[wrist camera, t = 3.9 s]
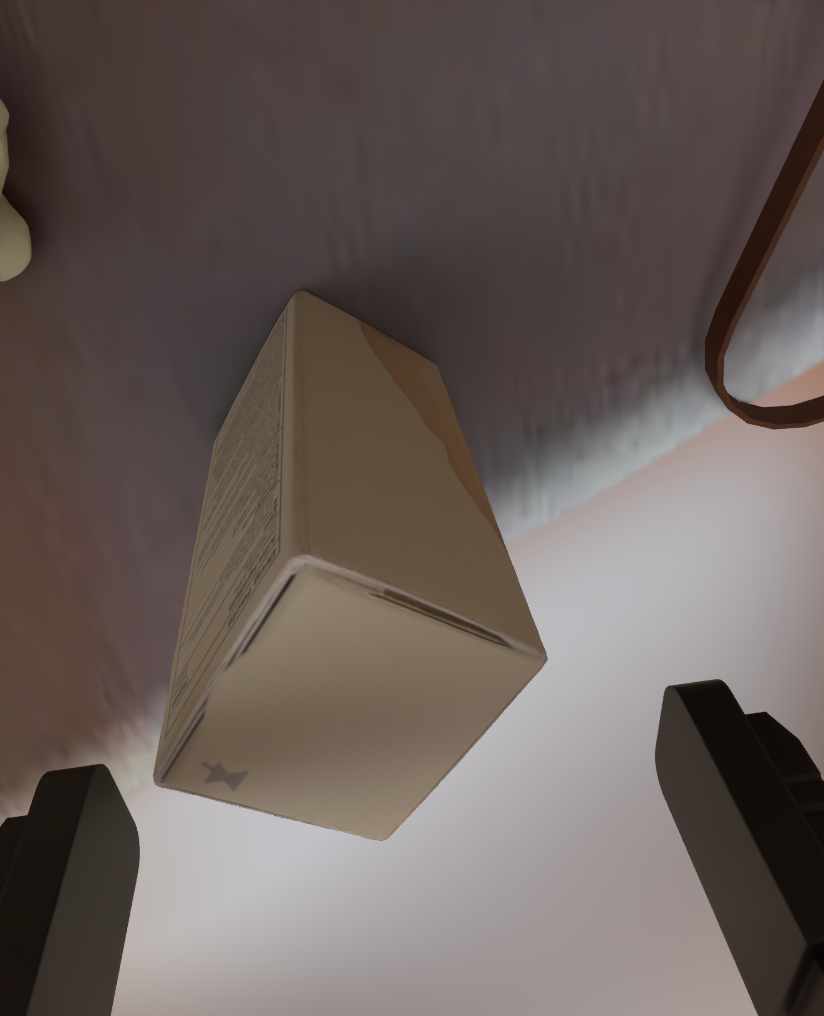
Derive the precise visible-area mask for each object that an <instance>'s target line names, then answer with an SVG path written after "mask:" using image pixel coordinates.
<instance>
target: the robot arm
mask: <svg viewBox="0 0 824 1016" xmlns="http://www.w3.org/2000/svg"><path fill="white" fill-rule="evenodd" d="M655 763H656V770H657V776H658V780H659V784H660V786H661V790H662V793H663V795H664V798H665V800H666V802H667V805H668V807H669V809H670V812H671V814H672V816H673V819H674V821H675V823H676V826H677V828H678V830H679V833H680V835H681V837H682V840H683V842H684V844H685V847H686V849H687V851H688V854H689V856H690V858H691V860H692V863H693V865H694V868H695V870H696V872H697V875H698V877H699V879H700V881H701V884H702V886H703V888H704V890H705V893H706V895H707V898H708V900H709V902H710V904H711V907H712V909H713V911H714V914H715V916H716V919H717V921H718V923H719V926H720V928H721V930H722V933H723V935H724V937H725V940H726V942H727V944H728V947H729V949H730V951H731V954H732V956H733V958H734V960H735V962H736V965H737V967H738V969H739V972H740V974H741V976H742V979H743V981H744V984H745V986H746V988H747V991H748V993H749V995H750V997H751V1000H752V1002H753V1005H754V1007H755V1009H756V1011H757V1014H758V1016H824V781H823V780H822V778H821V773H820V772H819V770H818V769H817V767H816V765H815V764H814V762H813V761H812V759H811V758H810V756H809V754H808V753H807V751H806V750H805V748H804V747H803V745H802V744H801V742H800V740H799V739H798V738H797V737H796V736H794V735H793V734H792V733H791V732H789V731H788V730H787V729H786V728H785V727H783V726H782V725H781V724H780V723H779V722H777V721H776V720H775V719H774V718H773V717H771V716H770V715H769V714H768V713H767V712H760V713H754V714H746V715H745V714H744V712H743V711H742V709H741V707H740V706H739V704H738V702H737V700H736V699H735V697H734V695H733V693H732V692H731V690H730V689H729V687H728V686H727V685H726V683H724V682H723V681H722V680H720V679H714V680H707V681H700V682H693V683H686V684H679V685H672V686H668V687H667V688H666V689H665V692H664V697H663V703H662V710H661V716H660V722H659V729H658V736H657V742H656V748H655ZM139 859H140V846H139V837H138V831H137V827H136V824H135V822H134V820H133V818H132V816H131V814H130V812H129V810H128V808H127V806H126V804H125V802H124V800H123V798H122V796H121V793H120V791H119V789H118V787H117V785H116V783H115V781H114V779H113V777H112V775H111V773H110V771H109V769H108V768H107V767H106V766H105V765H104V764H97V765H90V766H83V767H76V768H69V769H62V770H54V771H49V772H46V773H45V774H44V775H43V776H42V778H41V779H40V781H39V783H38V786H37V788H36V791H35V794H34V797H33V800H32V803H31V806H30V809H29V812H28V815H26V816H19V817H12V818H7V819H6V820H5V821H4V823H3V824H2V825H1V827H0V1016H111V1011H112V1005H113V1000H114V995H115V990H116V984H117V979H118V974H119V969H120V964H121V959H122V953H123V948H124V943H125V938H126V932H127V927H128V922H129V917H130V911H131V906H132V901H133V895H134V891H135V885H136V879H137V874H138V868H139Z"/></svg>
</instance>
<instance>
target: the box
mask: <svg viewBox="0 0 824 1016" xmlns="http://www.w3.org/2000/svg"><path fill="white" fill-rule="evenodd" d="M546 661H547V655H546V651H545V649H544V647H543V644H542V641H541V639H540V636H539V633H538V630H537V628H536V625H535V623H534V620H533V618H532V615H531V613H530V610H529V607H528V604H527V602H526V599H525V597H524V594H523V591H522V589H521V586H520V584H519V581H518V578H517V575H516V572H515V570H514V567H513V565H512V562H511V560H510V557H509V555H508V551H507V549H506V547H505V544H504V542H503V539H502V536H501V533H500V530H499V528H498V525H497V523H496V520H495V517H494V515H493V512H492V509H491V506H490V504H489V501H488V498H487V495H486V493H485V490H484V487H483V485H482V482H481V480H480V477H479V475H478V472H477V469H476V467H475V464H474V462H473V459H472V457H471V454H470V451H469V448H468V446H467V443H466V440H465V438H464V435H463V432H462V430H461V427H460V424H459V422H458V419H457V416H456V414H455V411H454V408H453V406H452V403H451V401H450V398H449V395H448V393H447V390H446V388H445V385H444V382H443V380H442V377H441V374H440V372H439V369H438V367H437V365H435V364H434V363H433V362H431V361H430V360H428V359H426V358H424V357H423V356H421V355H419V354H418V353H416V352H415V351H413V350H411V349H409V348H408V347H406V346H404V345H403V344H401V343H399V342H398V341H396V340H394V339H393V338H391V337H389V336H387V335H386V334H384V333H382V332H380V331H379V330H377V329H375V328H373V327H371V326H369V325H368V324H366V323H364V322H362V321H361V320H359V319H357V318H355V317H353V316H351V315H350V314H348V313H346V312H344V311H342V310H340V309H339V308H337V307H335V306H333V305H331V304H329V303H327V302H325V301H323V300H322V299H320V298H318V297H316V296H314V295H312V294H310V293H308V292H306V291H303V290H301V291H297V292H296V293H295V294H294V295H293V296H292V297H291V299H290V300H289V302H288V304H287V306H286V307H285V309H284V311H283V312H282V314H281V316H280V317H279V319H278V321H277V322H276V324H275V326H274V328H273V329H272V331H271V333H270V335H269V337H268V338H267V340H266V342H265V344H264V346H263V348H262V349H261V351H260V353H259V355H258V357H257V359H256V361H255V363H254V365H253V366H252V368H251V370H250V372H249V374H248V376H247V378H246V380H245V382H244V384H243V386H242V388H241V390H240V392H239V393H238V395H237V397H236V399H235V401H234V403H233V405H232V407H231V409H230V411H229V413H228V415H227V417H226V419H225V421H224V423H223V425H222V427H221V429H220V431H219V434H218V436H217V437H216V439H215V442H214V446H213V453H212V458H211V464H210V469H209V474H208V480H207V485H206V491H205V495H204V500H203V506H202V511H201V517H200V522H199V527H198V531H197V537H196V542H195V548H194V553H193V558H192V564H191V570H190V575H189V581H188V586H187V591H186V596H185V601H184V607H183V612H182V617H181V623H180V629H179V634H178V639H177V644H176V650H175V655H174V661H173V667H172V672H171V679H170V685H169V690H168V696H167V701H166V705H165V711H164V718H163V724H162V730H161V735H160V740H159V746H158V751H157V757H156V762H155V768H154V773H153V778H154V783H155V784H156V785H157V786H159V787H161V788H166V789H171V790H176V791H180V792H184V793H187V794H192V795H197V796H201V797H205V798H208V799H212V800H216V801H219V802H223V803H227V804H230V805H235V806H239V807H243V808H247V809H251V810H255V811H260V812H264V813H267V814H271V815H274V816H278V817H281V818H286V819H291V820H295V821H300V822H303V823H307V824H311V825H316V826H320V827H324V828H328V829H333V830H338V831H342V832H346V833H350V834H354V835H358V836H361V837H364V838H368V839H373V840H379V841H383V840H386V839H387V838H389V836H391V835H392V834H393V833H394V832H395V831H396V829H397V828H398V827H399V826H400V825H401V824H402V823H403V822H404V821H405V820H406V819H407V818H408V817H409V816H410V815H411V813H412V812H413V811H414V810H415V809H416V808H417V807H418V806H419V805H420V804H421V803H422V802H423V801H424V800H425V799H426V798H427V797H428V795H429V794H430V793H431V792H432V791H433V790H434V789H435V788H436V787H437V786H438V785H439V783H440V782H441V781H442V780H443V779H444V778H445V777H446V776H447V775H448V774H449V772H450V771H451V770H452V769H453V768H454V767H455V766H456V765H457V764H458V763H459V762H460V760H461V759H462V758H463V757H464V756H465V755H466V754H467V753H468V751H469V750H470V749H471V748H472V747H473V746H474V745H475V743H476V742H477V741H478V740H479V739H480V738H481V736H483V735H484V734H485V732H486V731H487V730H488V729H489V728H490V727H491V725H492V724H493V723H494V722H495V721H496V720H497V719H498V717H499V716H500V715H501V714H502V713H503V711H504V710H505V709H506V708H507V707H508V706H509V705H510V704H511V702H512V701H513V700H514V699H515V698H516V697H517V696H518V694H519V693H520V692H521V691H522V690H523V689H524V687H525V686H526V685H527V684H528V683H529V682H530V681H531V680H532V679H533V678H534V676H535V675H536V674H537V673H538V672H539V671H540V670H541V669H542V667H543V666H544V664H545V663H546Z"/></svg>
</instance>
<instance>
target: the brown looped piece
mask: <svg viewBox="0 0 824 1016" xmlns="http://www.w3.org/2000/svg"><path fill="white" fill-rule="evenodd" d="M823 150H824V80H823V82H822V85H821V87H820V89H819V91H818V93H817V95H816V97H815V99H814V102H813V104H812V106H811V108H810V110H809V112H808V114H807V116H806V119H805V121H804V123H803V125H802V127H801V129H800V131H799V133H798V136H797V138H796V140H795V142H794V144H793V146H792V148H791V150H790V153H789V155H788V157H787V159H786V161H785V163H784V165H783V167H782V170H781V172H780V174H779V176H778V178H777V180H776V182H775V184H774V187H773V189H772V191H771V193H770V195H769V197H768V199H767V201H766V204H765V206H764V208H763V210H762V212H761V214H760V216H759V218H758V221H757V223H756V225H755V227H754V229H753V231H752V233H751V235H750V238H749V240H748V242H747V244H746V246H745V248H744V250H743V252H742V255H741V257H740V259H739V261H738V263H737V265H736V267H735V269H734V272H733V274H732V276H731V278H730V280H729V282H728V284H727V286H726V289H725V291H724V293H723V295H722V297H721V299H720V301H719V303H718V306H717V308H716V310H715V313H714V316H713V319H712V322H711V324H710V327H709V330H708V333H707V336H706V339H705V371H706V373H707V375H708V377H709V379H710V381H711V383H712V385H713V387H714V390H715V391H716V393H717V394H718V396H719V397H720V399H721V400H722V401H723V403H724V404H725V406H726V407H727V408H728V409H729V410H730V411H731V412H733V413H734V414H735V415H737V416H738V417H740V418H741V419H742V420H744V421H745V422H746V423H748V424H753V425H757V426H761V427H766V428H770V429H786V428H800V427H807V426H810V425H814V424H817V423H820V422H823V421H824V396H821V397H818V398H815V399H812V400H808V401H805V402H802V403H799V404H795V405H791V406H777V407H760V406H756V405H751V404H747V403H743V402H739V401H737V400H736V399H735V398H734V397H732V396H731V395H730V394H728V393H727V391H726V389H725V387H724V384H723V377H724V355H725V353H726V350H727V348H728V345H729V342H730V340H731V337H732V334H733V332H734V329H735V326H736V324H737V322H738V320H739V318H740V316H741V314H742V312H743V310H744V308H745V306H746V304H747V302H748V300H749V298H750V296H751V294H752V292H753V290H754V288H755V286H756V284H757V282H758V280H759V278H760V276H761V274H762V272H763V270H764V268H765V266H766V264H767V262H768V260H769V258H770V256H771V254H772V252H773V250H774V248H775V246H776V244H777V242H778V240H779V238H780V236H781V234H782V232H783V230H784V228H785V226H786V224H787V222H788V220H789V218H790V216H791V214H792V212H793V210H794V208H795V206H796V204H797V202H798V200H799V198H800V196H801V194H802V192H803V190H804V188H805V186H806V184H807V182H808V180H809V178H810V176H811V174H812V172H813V170H814V168H815V166H816V164H817V162H818V160H819V158H820V156H821V154H822V152H823Z"/></svg>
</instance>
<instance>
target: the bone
mask: <svg viewBox="0 0 824 1016" xmlns="http://www.w3.org/2000/svg"><path fill="white" fill-rule="evenodd" d="M8 122H9V112H8V110H7V108H6V106H5V104H4V103H3V101H2V100H1V99H0V281H7V280H9V279H11V278H13V277H15V276H17V275H19V274H20V273H22V272H23V270H24V269H25V268H26V267H27V265H28V264H29V262H30V260H31V255H32V248H31V238H30V233H29V227H28V225H27V223H26V222H25V220H24V219H23V218H22V217H21V216H20V215H19V214H18V212H17V211H16V210H15V209H14V208H13V207H12V206H11V205H10V203H9V202H8V201H7V199H6V198H5V196H4V195H3V194H2V190H3V186H4V183H5V179H6V175H7V172H8V169H9V157H8V140H7V134H6V127H7V125H8Z"/></svg>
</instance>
